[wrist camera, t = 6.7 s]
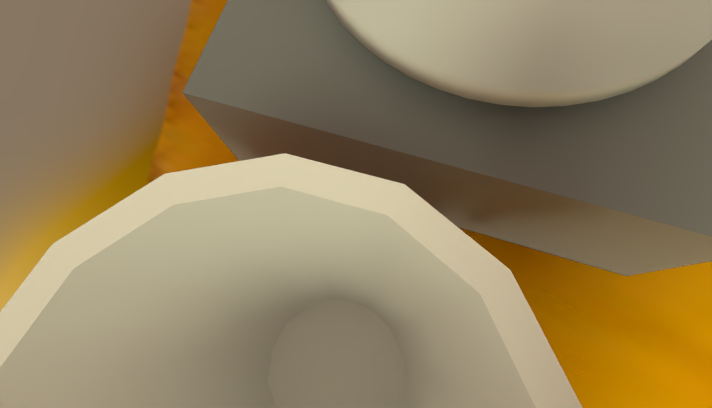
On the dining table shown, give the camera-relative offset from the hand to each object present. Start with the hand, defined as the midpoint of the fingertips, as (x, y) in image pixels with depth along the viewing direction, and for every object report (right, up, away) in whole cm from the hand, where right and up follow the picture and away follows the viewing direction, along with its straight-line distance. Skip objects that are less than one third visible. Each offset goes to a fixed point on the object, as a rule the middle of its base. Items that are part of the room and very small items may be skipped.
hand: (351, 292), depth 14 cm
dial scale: (+7, +12, +9) cm, 16 cm away
